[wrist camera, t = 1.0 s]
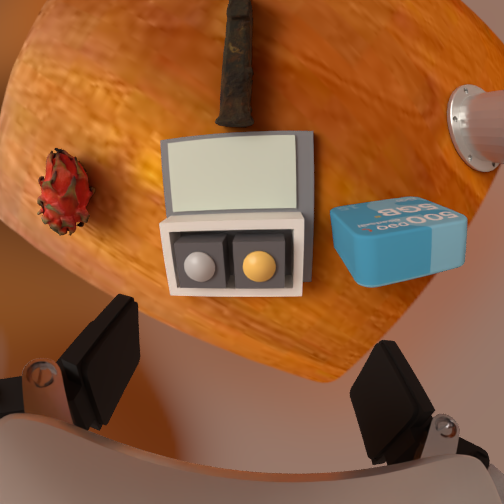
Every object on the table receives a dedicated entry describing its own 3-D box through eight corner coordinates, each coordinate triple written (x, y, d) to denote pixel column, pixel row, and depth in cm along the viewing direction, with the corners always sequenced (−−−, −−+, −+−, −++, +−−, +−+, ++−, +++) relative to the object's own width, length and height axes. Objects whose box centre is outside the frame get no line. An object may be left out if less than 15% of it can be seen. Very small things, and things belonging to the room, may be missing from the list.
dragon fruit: (91, 230, 35) (83, 153, 33) (107, 228, 29) (99, 134, 27) (40, 242, 29) (33, 159, 27) (43, 243, 23) (36, 140, 21)
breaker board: (311, 132, 27) (318, 128, 23) (310, 278, 33) (315, 295, 29) (163, 140, 29) (147, 139, 24) (178, 278, 35) (166, 295, 30)
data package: (415, 195, 29) (473, 218, 17) (416, 229, 30) (470, 265, 19) (326, 207, 30) (357, 238, 19) (331, 244, 32) (360, 291, 21)
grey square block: (226, 233, 29) (221, 243, 26) (230, 276, 31) (225, 289, 28) (182, 234, 29) (172, 244, 26) (187, 276, 31) (179, 289, 28)
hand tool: (254, 129, 28) (252, 125, 24) (218, 127, 28) (210, 123, 24) (266, -3, 22) (266, -21, 17) (234, -3, 22) (229, -22, 17)
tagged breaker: (283, 232, 29) (284, 242, 25) (283, 275, 30) (284, 289, 27) (236, 233, 29) (232, 243, 26) (238, 276, 31) (235, 289, 28)
